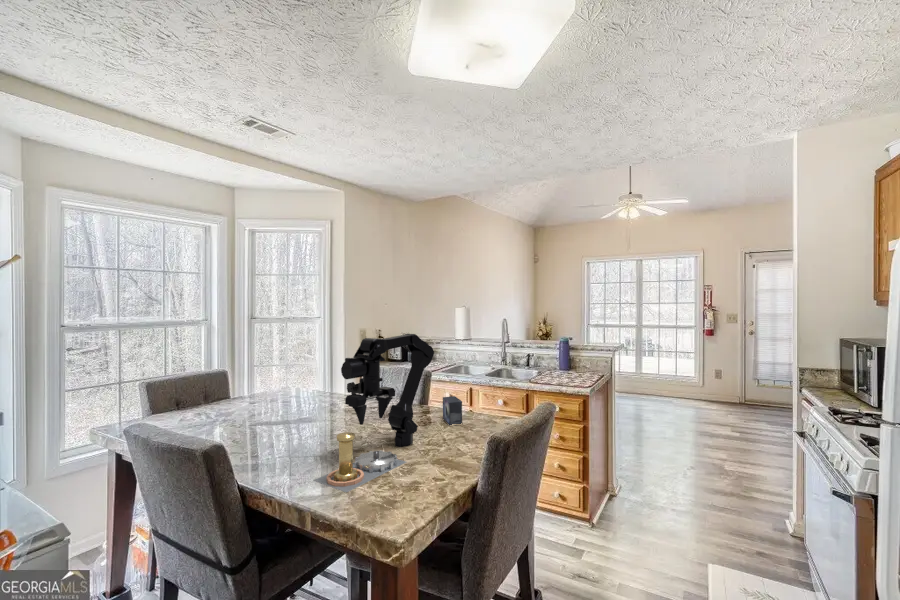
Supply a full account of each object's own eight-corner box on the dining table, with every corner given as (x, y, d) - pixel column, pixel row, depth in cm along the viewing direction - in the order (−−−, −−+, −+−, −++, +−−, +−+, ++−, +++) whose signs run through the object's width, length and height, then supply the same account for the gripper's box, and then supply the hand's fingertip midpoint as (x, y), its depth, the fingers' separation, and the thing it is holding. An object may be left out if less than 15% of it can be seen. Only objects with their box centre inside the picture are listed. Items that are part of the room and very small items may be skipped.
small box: (441, 419, 189) (441, 396, 189) (455, 418, 191) (455, 395, 191) (448, 426, 179) (448, 402, 179) (462, 425, 181) (462, 400, 181)
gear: (375, 453, 142) (375, 442, 142) (405, 461, 135) (405, 449, 135) (345, 466, 131) (345, 453, 131) (377, 476, 124) (377, 462, 124)
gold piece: (353, 471, 127) (353, 429, 127) (361, 479, 121) (361, 435, 121) (330, 476, 123) (330, 433, 123) (337, 485, 117) (337, 439, 118)
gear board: (375, 457, 143) (375, 450, 143) (407, 466, 135) (407, 458, 135) (313, 485, 121) (313, 476, 121) (346, 497, 113) (346, 488, 113)
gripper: (373, 369, 153) (373, 411, 153) (333, 377, 138) (333, 424, 138) (396, 372, 147) (396, 416, 147) (357, 380, 132) (357, 429, 131)
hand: (371, 421), depth 141 cm, fingers open, 9 cm apart
